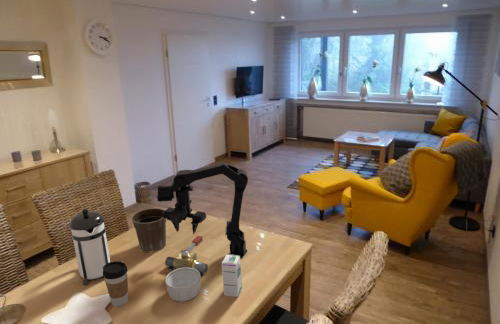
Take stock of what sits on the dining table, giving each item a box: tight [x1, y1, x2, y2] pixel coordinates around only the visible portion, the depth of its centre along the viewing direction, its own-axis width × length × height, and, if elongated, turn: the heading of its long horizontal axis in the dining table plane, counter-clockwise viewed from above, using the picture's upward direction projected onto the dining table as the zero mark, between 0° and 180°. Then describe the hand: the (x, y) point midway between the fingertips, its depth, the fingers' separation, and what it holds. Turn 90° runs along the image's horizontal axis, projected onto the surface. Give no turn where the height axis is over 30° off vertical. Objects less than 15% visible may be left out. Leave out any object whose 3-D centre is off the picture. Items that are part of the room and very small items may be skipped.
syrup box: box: [221, 254, 243, 298], centre depth 132 cm, size 6×6×14 cm
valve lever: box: [180, 235, 203, 257], centre depth 151 cm, size 15×3×2 cm, turn 160°
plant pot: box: [130, 207, 167, 253], centre depth 166 cm, size 16×16×16 cm
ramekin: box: [164, 268, 202, 302], centre depth 133 cm, size 13×13×7 cm
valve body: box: [164, 251, 209, 277], centre depth 147 cm, size 18×6×7 cm, turn 70°
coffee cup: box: [102, 260, 129, 307], centre depth 128 cm, size 8×8×15 cm
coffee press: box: [68, 208, 111, 286], centre depth 143 cm, size 17×16×30 cm
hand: (185, 232), depth 155 cm, fingers open, 8 cm apart
